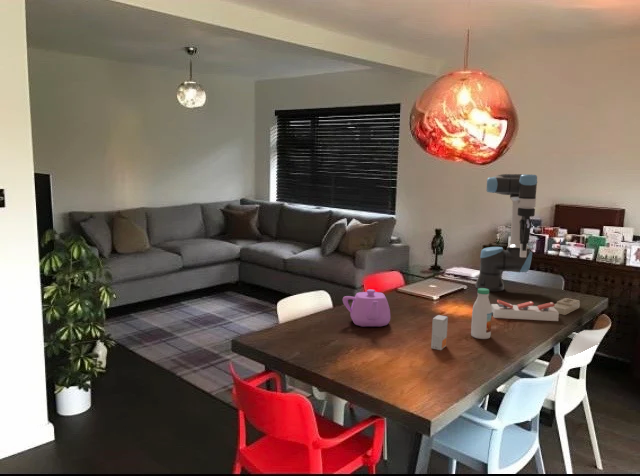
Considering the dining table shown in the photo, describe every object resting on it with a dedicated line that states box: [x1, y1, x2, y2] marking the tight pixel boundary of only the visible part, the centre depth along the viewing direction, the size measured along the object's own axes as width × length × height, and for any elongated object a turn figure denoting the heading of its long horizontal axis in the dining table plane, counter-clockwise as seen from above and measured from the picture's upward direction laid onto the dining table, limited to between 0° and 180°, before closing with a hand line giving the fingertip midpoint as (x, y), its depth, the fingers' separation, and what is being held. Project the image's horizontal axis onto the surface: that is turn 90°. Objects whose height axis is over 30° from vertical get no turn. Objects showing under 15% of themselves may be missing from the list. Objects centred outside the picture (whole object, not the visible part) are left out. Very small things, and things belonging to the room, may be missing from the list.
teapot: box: [342, 289, 391, 328], centre depth 229 cm, size 23×21×15 cm
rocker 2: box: [516, 300, 535, 309], centre depth 243 cm, size 3×7×1 cm, turn 82°
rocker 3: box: [536, 301, 555, 310], centre depth 242 cm, size 3×7×1 cm, turn 82°
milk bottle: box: [470, 288, 493, 340], centre depth 216 cm, size 8×8×20 cm
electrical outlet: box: [553, 297, 581, 316], centre depth 257 cm, size 7×4×18 cm
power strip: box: [490, 303, 560, 322], centre depth 246 cm, size 9×35×5 cm, turn 82°
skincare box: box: [430, 314, 449, 351], centre depth 204 cm, size 6×4×12 cm
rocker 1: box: [496, 299, 514, 308], centre depth 244 cm, size 3×7×1 cm, turn 81°
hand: (522, 257), depth 251 cm, fingers closed
